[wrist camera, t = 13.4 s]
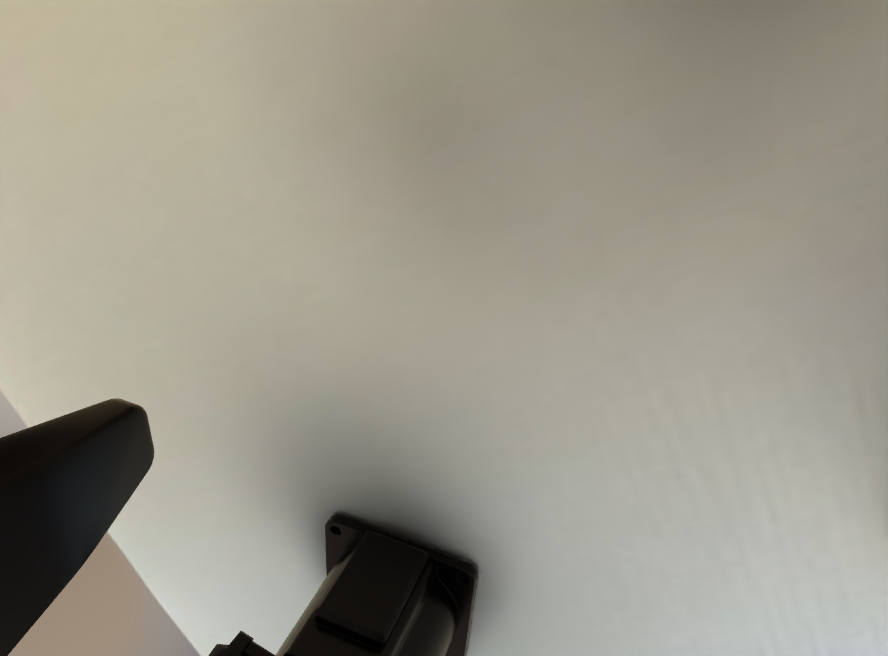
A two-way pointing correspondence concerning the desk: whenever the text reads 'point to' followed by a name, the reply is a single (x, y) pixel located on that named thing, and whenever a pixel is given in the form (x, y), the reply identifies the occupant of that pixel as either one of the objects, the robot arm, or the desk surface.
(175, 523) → the desk surface
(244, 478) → the desk surface
